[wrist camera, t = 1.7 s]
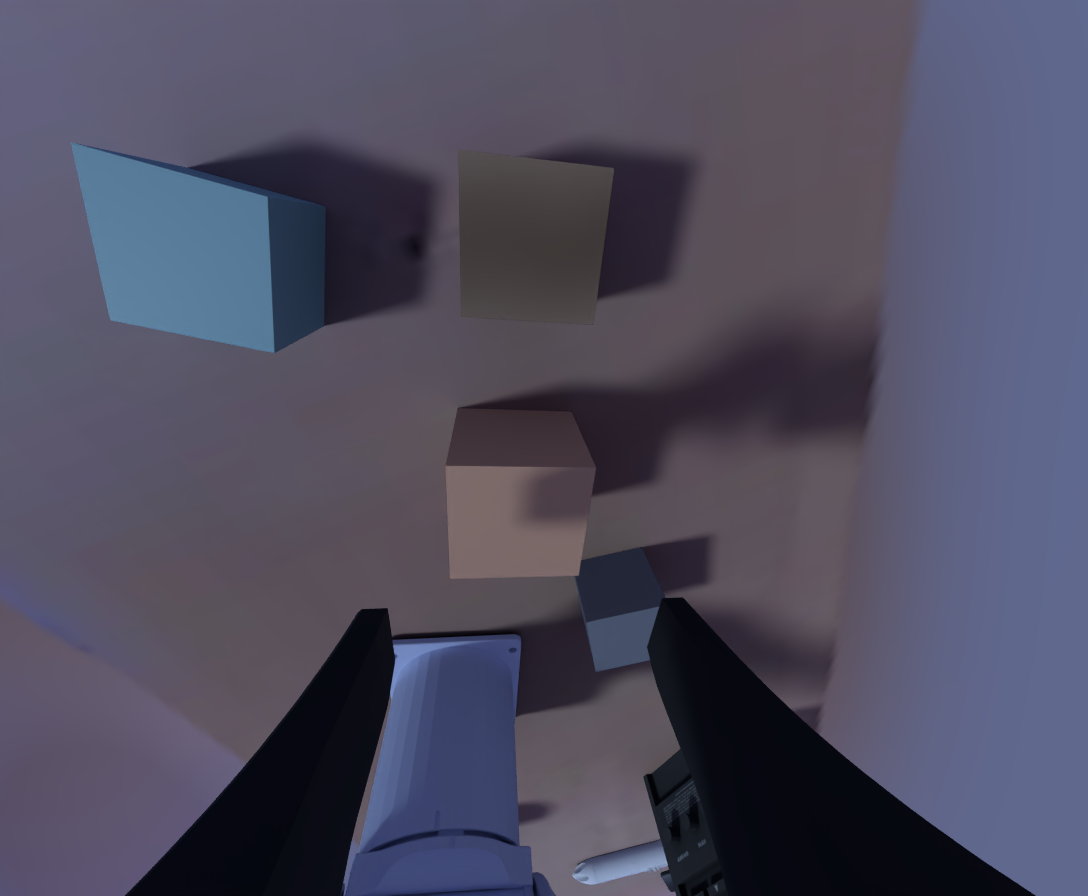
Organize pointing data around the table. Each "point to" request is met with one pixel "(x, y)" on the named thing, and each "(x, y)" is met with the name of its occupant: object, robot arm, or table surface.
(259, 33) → the table surface
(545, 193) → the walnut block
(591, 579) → the charcoal block
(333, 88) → the table surface
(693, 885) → the geiger counter
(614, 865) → the marker
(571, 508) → the terracotta block
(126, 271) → the dull teal block
